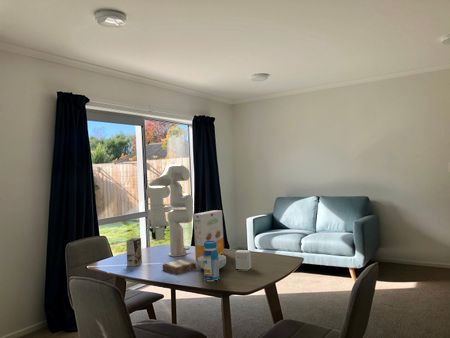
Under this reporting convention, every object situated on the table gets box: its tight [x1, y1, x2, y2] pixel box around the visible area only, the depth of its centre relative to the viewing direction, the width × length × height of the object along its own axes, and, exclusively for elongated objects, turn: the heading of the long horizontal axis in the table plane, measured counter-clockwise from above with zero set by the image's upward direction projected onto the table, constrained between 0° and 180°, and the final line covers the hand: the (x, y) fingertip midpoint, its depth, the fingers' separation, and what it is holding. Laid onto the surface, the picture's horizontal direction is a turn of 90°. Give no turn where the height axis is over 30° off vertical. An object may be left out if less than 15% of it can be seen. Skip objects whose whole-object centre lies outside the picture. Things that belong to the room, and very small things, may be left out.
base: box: [162, 259, 197, 275], centre depth 217 cm, size 14×14×4 cm
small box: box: [234, 249, 252, 270], centre depth 212 cm, size 8×6×10 cm
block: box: [151, 227, 165, 242], centre depth 218 cm, size 5×5×7 cm
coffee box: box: [125, 237, 143, 267], centre depth 235 cm, size 9×6×16 cm
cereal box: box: [193, 209, 225, 261], centre depth 246 cm, size 22×6×30 cm, turn 143°
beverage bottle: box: [203, 241, 220, 282], centre depth 195 cm, size 8×8×20 cm
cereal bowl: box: [197, 254, 227, 270], centre depth 215 cm, size 17×17×7 cm
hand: (158, 237), depth 218 cm, fingers closed on block, 5 cm apart
